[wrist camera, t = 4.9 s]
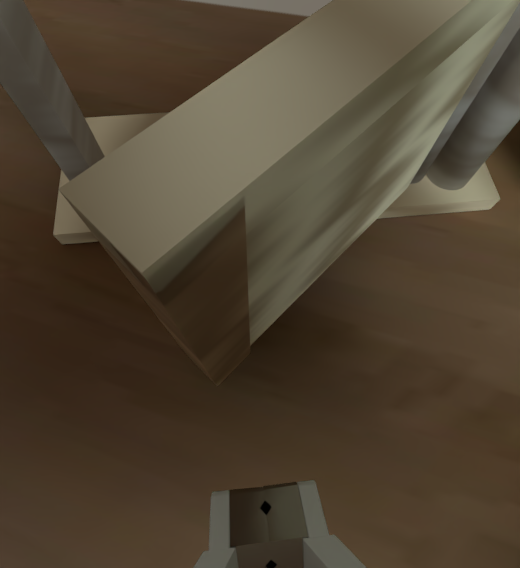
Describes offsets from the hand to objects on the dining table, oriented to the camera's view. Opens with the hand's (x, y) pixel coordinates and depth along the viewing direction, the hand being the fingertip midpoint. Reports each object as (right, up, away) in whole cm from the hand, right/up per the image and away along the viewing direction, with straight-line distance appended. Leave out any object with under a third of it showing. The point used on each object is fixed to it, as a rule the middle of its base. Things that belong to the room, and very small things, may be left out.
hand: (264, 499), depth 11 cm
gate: (+3, +8, +8) cm, 11 cm away
